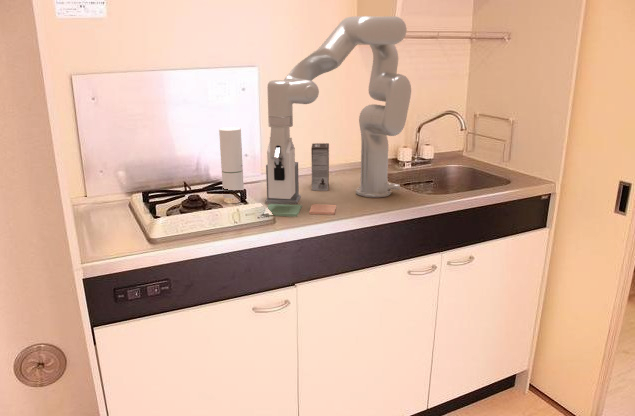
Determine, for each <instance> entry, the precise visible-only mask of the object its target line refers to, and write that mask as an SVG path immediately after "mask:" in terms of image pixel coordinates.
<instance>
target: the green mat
mask: <svg viewBox="0 0 635 416" xmlns="http://www.w3.org/2000/svg"><path fill="white" fill-rule="evenodd" d="M267 207H268V209H269V210H270V211H271V212H272V214H273V215H275V216H274V217H292V218H293V217H296V218H297V217H298V216H299V214H300V212H301V209H302V207H303V206H302V204H271V203H268V205H267ZM267 207H266V208H267Z"/></svg>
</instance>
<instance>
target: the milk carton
mask: <svg viewBox="0 0 635 416" xmlns="http://www.w3.org/2000/svg"><path fill="white" fill-rule="evenodd" d="M295 149H296V148H295V146H294V143H293V138H292V137H290V138H289V142H288V147H287V151H286V158H285V159H284V166H283V168H284V171H285V180H284V181H279V180H274V160H275V159H274V158H275V155H274V158H272V159H271V158H270V141H269V143H268V146H267V151H266V154H267V155H266V160H267V163H266V165H267V164H268V196H269V198H280V199H290V198H291V197H292V196H293V195H294V194H295V162H296V158H295V157H296V156H295V155H296V154H295V153H296V152H295V151H296V150H295ZM282 156H283V155H282V154H281V151H280V157H279V158H282ZM279 161H282V160H279Z"/></svg>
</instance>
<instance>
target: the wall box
mask: <svg viewBox="0 0 635 416" xmlns="http://www.w3.org/2000/svg"><path fill="white" fill-rule="evenodd" d="M265 174H266V175H265V176H266V177H265V178H266V198H265V204H291V205H299V204H298V203H299V202H300V200H301V197H302V196H301V194H300V191H299V189H300V188H299V162H298V161H295V194H294V195H293V196H292V197H291V198H290V199H280V198H269V196H268V164H267V163H266V164H265Z"/></svg>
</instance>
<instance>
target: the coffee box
mask: <svg viewBox="0 0 635 416" xmlns="http://www.w3.org/2000/svg"><path fill="white" fill-rule="evenodd" d="M329 183H330V144H329V143H325V142H324V143H323V142H322V143H320V142H319V143H318V142H317V143H315V142H314V143H311V191H320V192H321V191H326V192H327V191H329V186H330V184H329Z"/></svg>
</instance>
